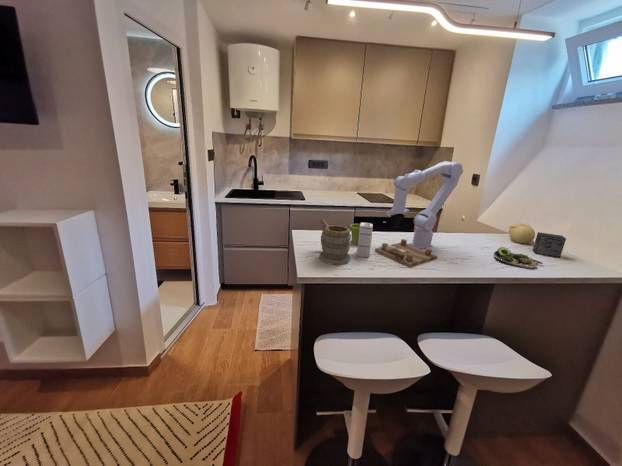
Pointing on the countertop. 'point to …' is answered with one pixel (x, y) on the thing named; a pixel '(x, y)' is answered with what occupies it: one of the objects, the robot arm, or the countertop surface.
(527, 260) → the salad plate
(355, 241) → the plant pot
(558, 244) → the small box
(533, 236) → the pale yellow rounded lump
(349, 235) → the tankard
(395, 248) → the long beige beam
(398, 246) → the brown wooden flat board
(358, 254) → the syrup box
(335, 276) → the countertop surface
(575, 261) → the countertop surface
